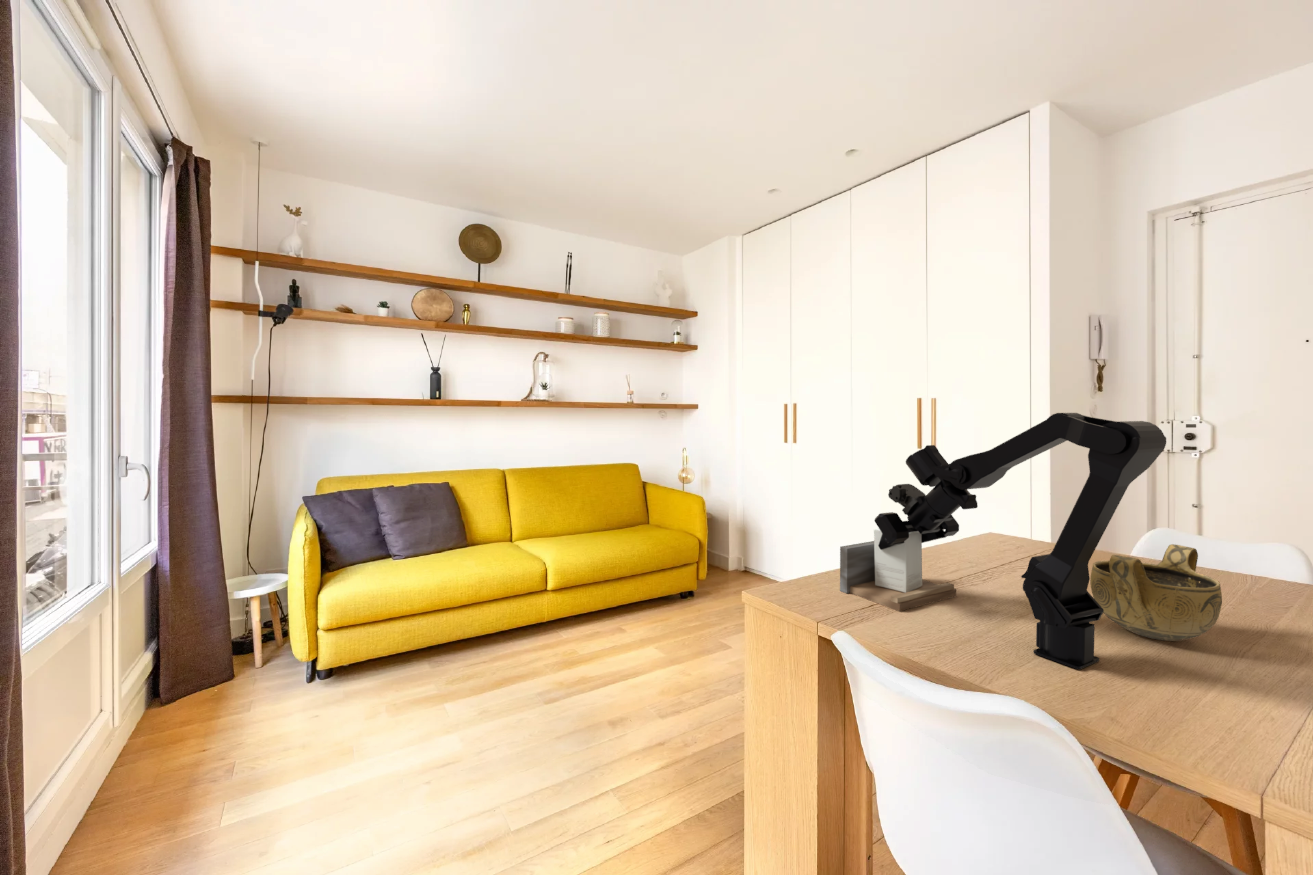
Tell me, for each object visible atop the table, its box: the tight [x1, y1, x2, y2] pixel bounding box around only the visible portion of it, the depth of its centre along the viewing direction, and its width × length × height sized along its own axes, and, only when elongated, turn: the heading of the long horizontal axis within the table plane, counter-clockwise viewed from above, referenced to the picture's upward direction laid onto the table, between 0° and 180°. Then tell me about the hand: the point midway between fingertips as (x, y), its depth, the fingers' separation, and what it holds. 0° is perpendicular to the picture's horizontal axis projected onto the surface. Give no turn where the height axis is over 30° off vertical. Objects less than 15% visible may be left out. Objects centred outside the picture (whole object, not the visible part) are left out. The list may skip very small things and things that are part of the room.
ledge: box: [839, 540, 957, 612], centre depth 115 cm, size 14×20×10 cm
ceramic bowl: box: [1089, 543, 1223, 642], centre depth 93 cm, size 22×17×15 cm
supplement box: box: [873, 527, 923, 593], centre depth 115 cm, size 7×7×13 cm
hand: (894, 545), depth 115 cm, fingers closed on supplement box, 8 cm apart
